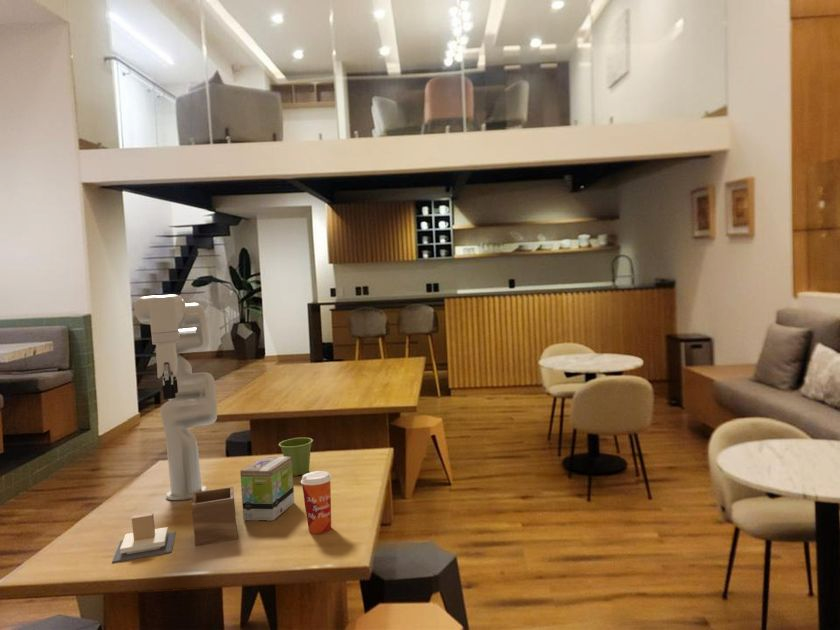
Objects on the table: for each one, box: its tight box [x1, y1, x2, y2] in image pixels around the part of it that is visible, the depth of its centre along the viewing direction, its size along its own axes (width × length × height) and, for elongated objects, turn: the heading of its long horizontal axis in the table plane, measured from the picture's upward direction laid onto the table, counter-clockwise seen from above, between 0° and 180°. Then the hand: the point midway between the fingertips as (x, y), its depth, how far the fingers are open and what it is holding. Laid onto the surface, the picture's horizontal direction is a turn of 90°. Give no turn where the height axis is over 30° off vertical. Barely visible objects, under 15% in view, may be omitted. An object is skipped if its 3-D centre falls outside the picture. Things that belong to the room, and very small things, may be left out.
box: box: [191, 486, 238, 547], centre depth 177 cm, size 11×11×11 cm
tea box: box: [239, 456, 295, 522], centre depth 192 cm, size 15×10×15 cm, turn 168°
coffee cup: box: [300, 470, 332, 535], centre depth 176 cm, size 8×8×15 cm
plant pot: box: [278, 437, 314, 477], centre depth 229 cm, size 12×12×11 cm
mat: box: [111, 531, 176, 564], centre depth 172 cm, size 14×14×1 cm
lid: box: [120, 511, 169, 554], centre depth 172 cm, size 11×11×8 cm
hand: (171, 396), depth 191 cm, fingers open, 9 cm apart
